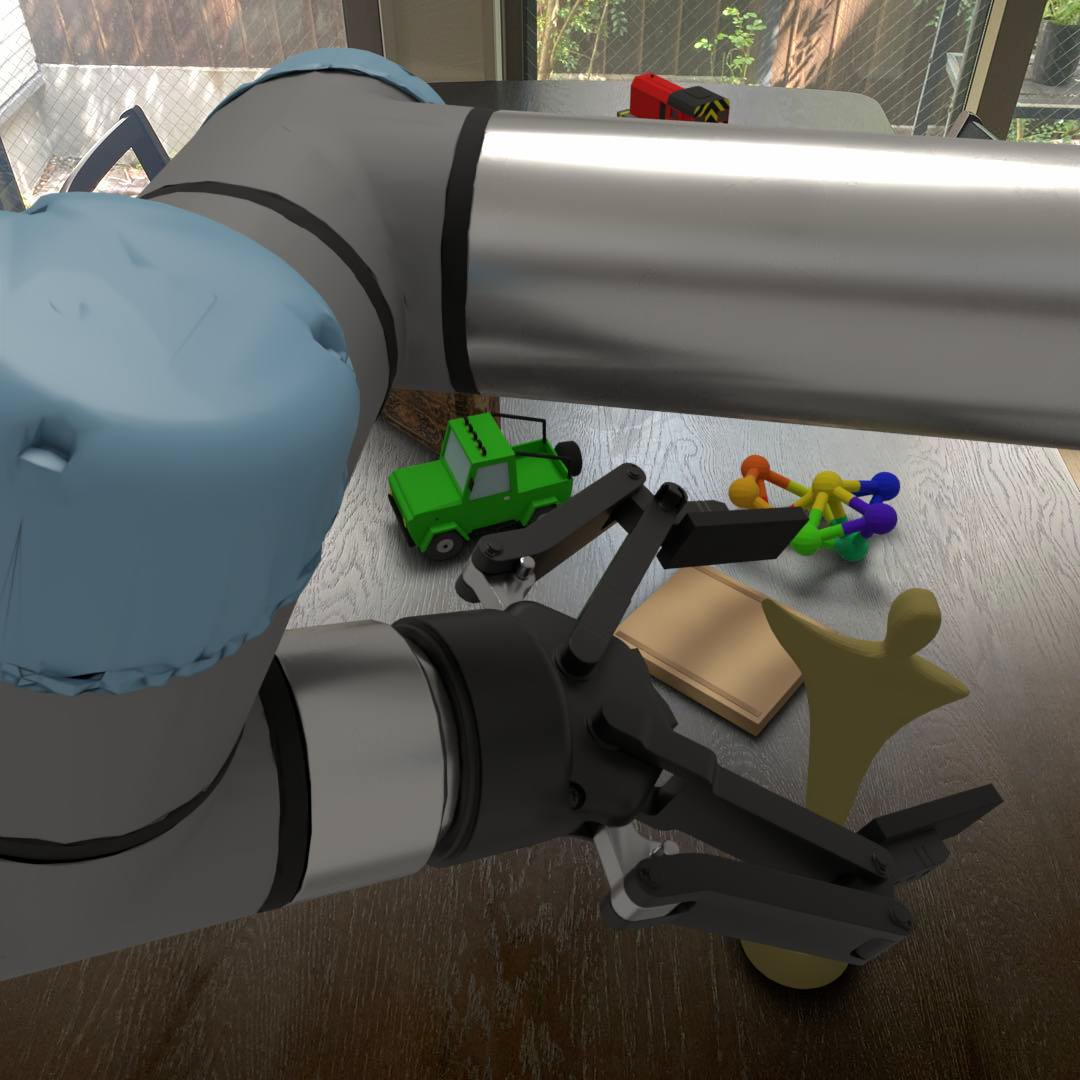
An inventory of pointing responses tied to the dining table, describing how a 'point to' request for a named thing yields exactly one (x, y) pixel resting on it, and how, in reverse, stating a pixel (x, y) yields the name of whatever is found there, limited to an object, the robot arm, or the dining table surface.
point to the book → (433, 412)
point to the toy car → (480, 484)
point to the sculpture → (853, 725)
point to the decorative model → (824, 506)
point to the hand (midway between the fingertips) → (874, 660)
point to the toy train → (674, 102)
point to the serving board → (715, 645)
